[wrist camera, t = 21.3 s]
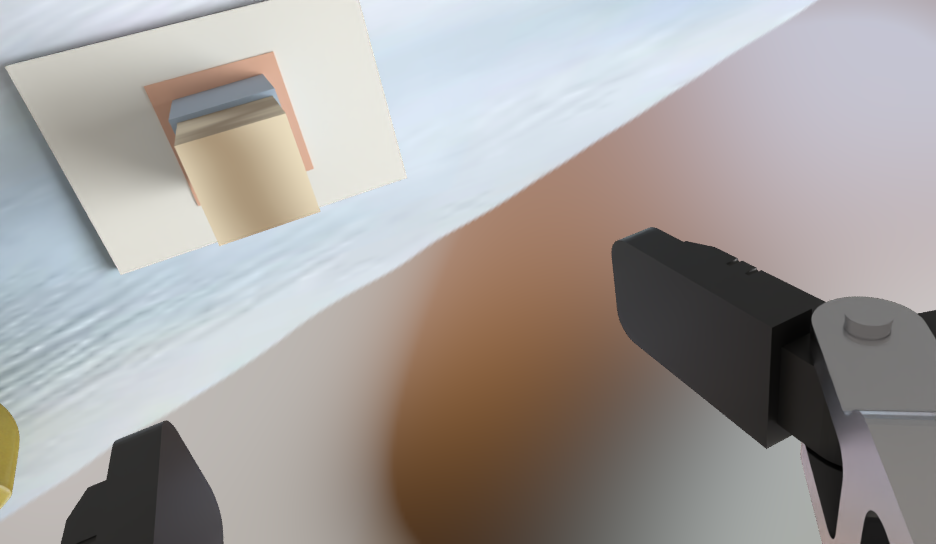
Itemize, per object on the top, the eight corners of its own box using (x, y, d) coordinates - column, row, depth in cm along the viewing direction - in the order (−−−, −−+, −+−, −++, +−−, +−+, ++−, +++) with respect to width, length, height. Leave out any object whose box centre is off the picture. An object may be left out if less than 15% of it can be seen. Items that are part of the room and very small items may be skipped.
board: (349, -21, 35) (354, -21, 34) (402, 174, 41) (407, 178, 40) (9, 64, 31) (4, 66, 30) (122, 268, 37) (120, 275, 36)
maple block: (272, 95, 30) (285, 113, 25) (303, 182, 32) (320, 211, 27) (177, 122, 28) (174, 146, 24) (215, 210, 31) (219, 245, 26)
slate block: (262, 73, 34) (274, 88, 29) (294, 157, 37) (310, 184, 32) (172, 100, 33) (168, 120, 28) (210, 184, 36) (213, 217, 31)
